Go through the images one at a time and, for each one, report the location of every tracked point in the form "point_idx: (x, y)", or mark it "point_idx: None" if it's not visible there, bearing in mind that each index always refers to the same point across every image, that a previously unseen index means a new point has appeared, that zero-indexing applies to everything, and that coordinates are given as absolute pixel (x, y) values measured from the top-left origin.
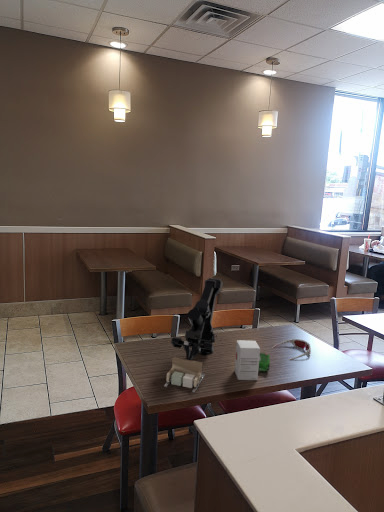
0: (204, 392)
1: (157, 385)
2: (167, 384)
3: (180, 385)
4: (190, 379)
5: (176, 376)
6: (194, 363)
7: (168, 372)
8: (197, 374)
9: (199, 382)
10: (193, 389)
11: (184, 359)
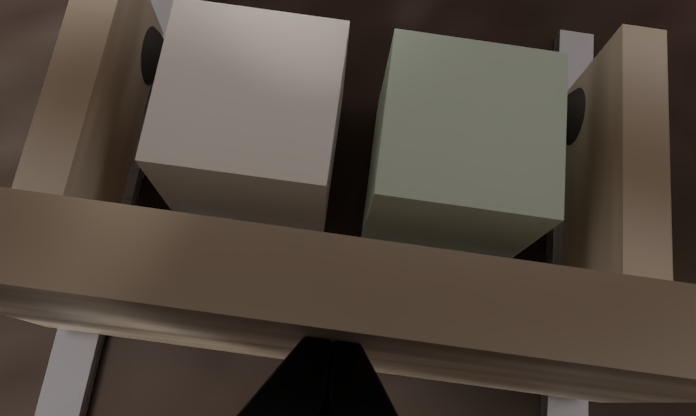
0: (15, 10)
1: (681, 52)
2: None
3: (377, 109)
4: (211, 9)
5: (475, 40)
6: (99, 212)
7: (658, 90)
8: (75, 137)
9: None
10: (170, 11)
11: (452, 324)
